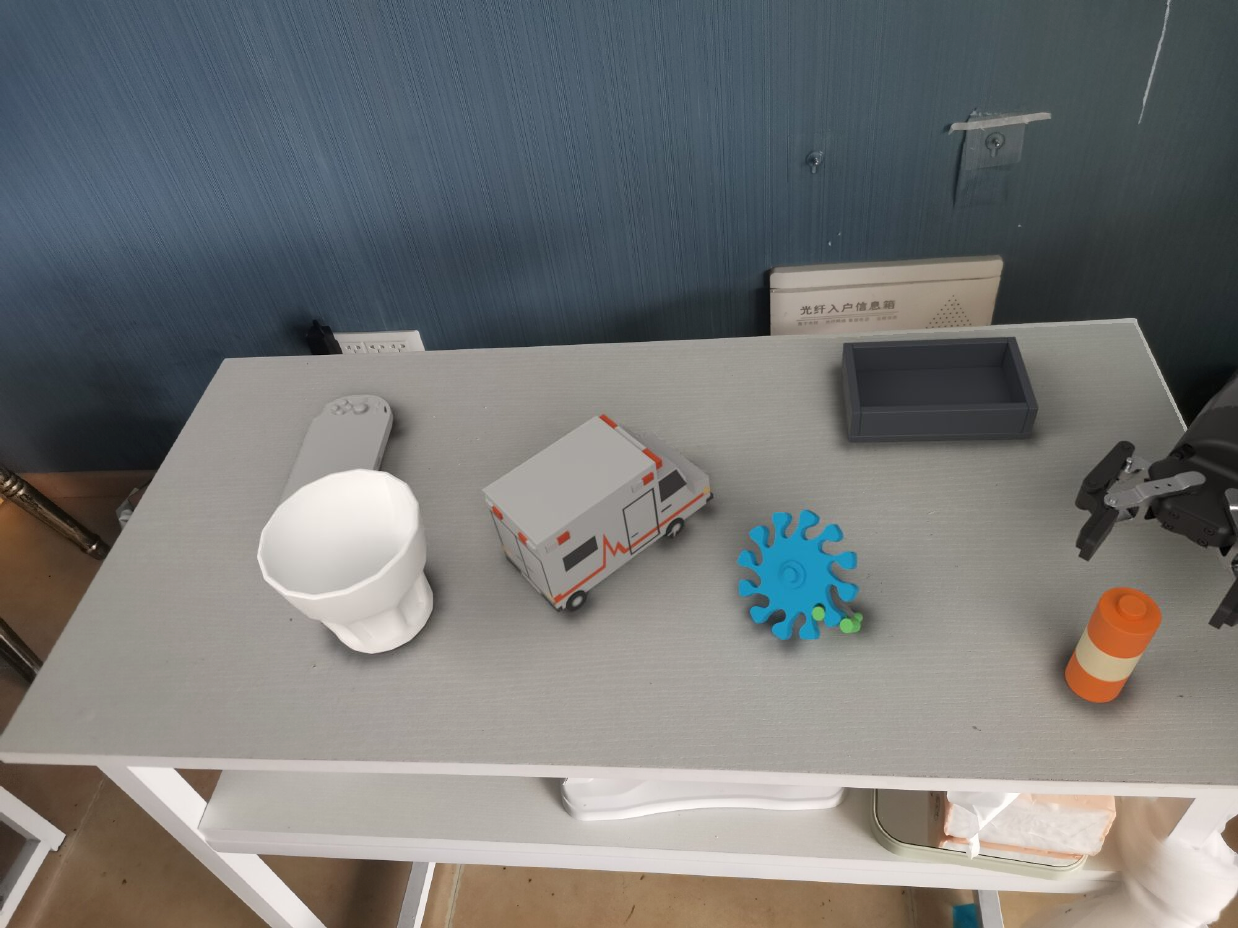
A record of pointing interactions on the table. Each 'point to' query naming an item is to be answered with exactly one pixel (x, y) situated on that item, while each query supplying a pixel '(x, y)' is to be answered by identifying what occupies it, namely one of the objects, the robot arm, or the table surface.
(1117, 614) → the orange cylinder
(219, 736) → the table surface
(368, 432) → the game console
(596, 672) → the table surface
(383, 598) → the cup
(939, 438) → the bin
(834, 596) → the gear
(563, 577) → the toy vehicle
